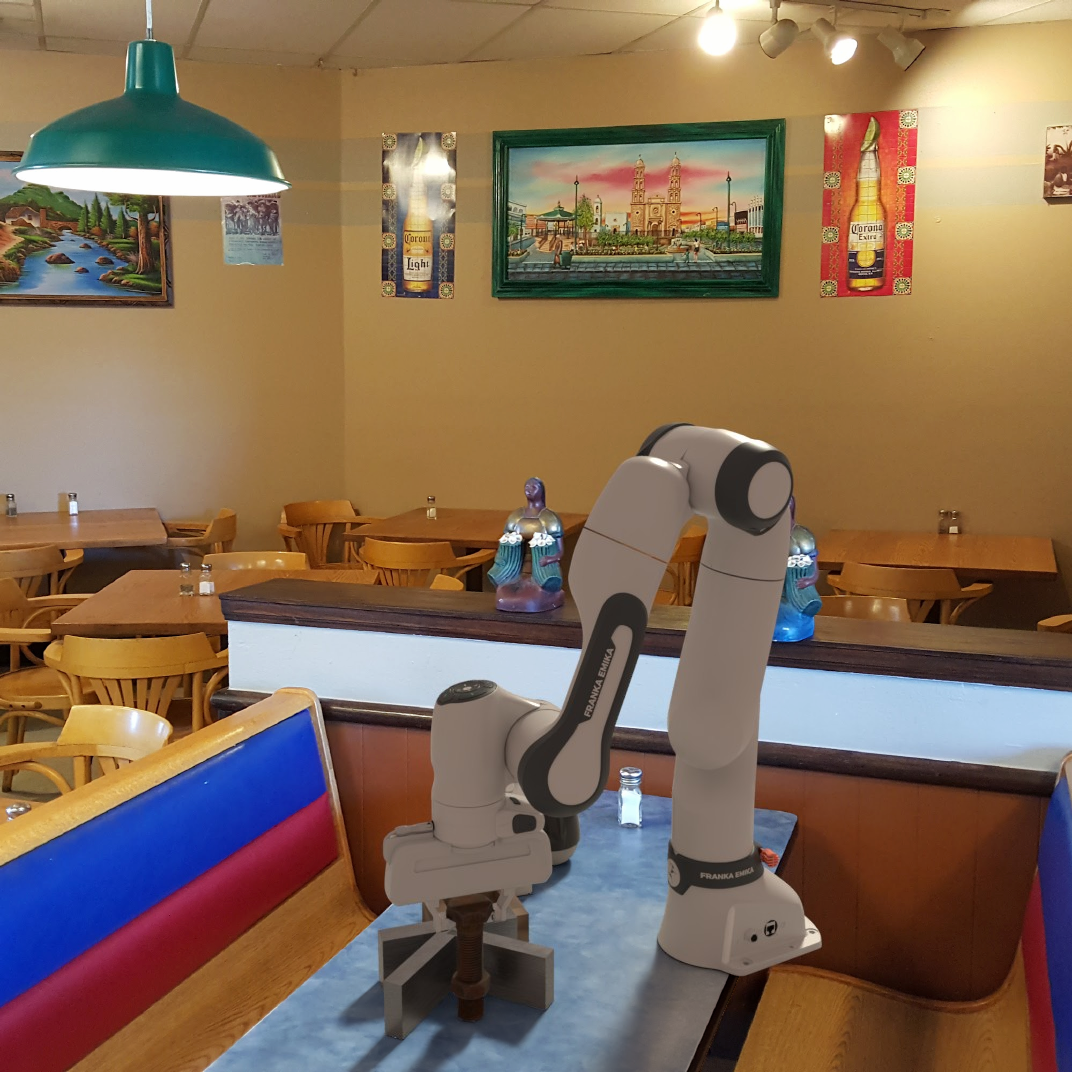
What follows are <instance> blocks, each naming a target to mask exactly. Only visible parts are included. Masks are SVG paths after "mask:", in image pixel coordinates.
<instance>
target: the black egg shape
mask: <svg viewBox="0 0 1072 1072" xmlns="http://www.w3.org/2000/svg"><path fill="white" fill-rule="evenodd" d="M543 816H544V818H545V824H544V828H543V831H544V832H545V833H546V834H547V836H548V838H549V841H550V847H551V855H552V865H553V866H558V865H562V864H564V863H566V862H567V861H568V860H570V859H571V858H572V857H573V855H574V854H575V852H576V850H577V848H578V844H579V843H580V840H581V825H580V817H579V814H576V815H573V816H569V817H551V816H547V815H544V814H543Z"/></svg>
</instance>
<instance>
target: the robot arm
mask: <svg viewBox="0 0 1072 1072" xmlns="http://www.w3.org/2000/svg"><path fill="white" fill-rule="evenodd" d="M794 485H795V484H794V474H793V469H792V466H791V462H790V461H789V457H787V456H786V454H784V453H783V451H781V450H779V449H778V448H776V447H775V446H773V445H772V444H769V443H768V442H765V441H763V440H760V439H753V438H751V437H748V436H746V435H743V434H741V433H738V432H735V431H731V430H728V429H725V428H713V427H706V426H697V425H695V424H693V423H689V422H671V423H666V424H663V425H661V426H658V427H657V428H656V429H654V430H653V431H652V432H651V433H650V434H649V435H648V436H647V437H646V438H645V440H644V441H643V443H642V444H641V445H640V447H639V449H638V452H637V453H636V455H635V456H632V457H629V458H628V459H625V460H624V461H623V462H622V463H620V465H618V467H617V469H616V470H615V471H614V472H613V474H612V476H611V477H610V478H609V480H608V481H607V483H606V485H605V486H604V487H603V489H602V491H601V493H600V494H599V496H598V498H597V500H596V502H595V503H594V505H593V507H592V509H591V511H590V513H589V514H588V517H587V520H586V521H585V524H584V525H583V526H584V527H583V528H582V530H581V533H580V535H579V536H578V537H579V538H578V539H577V542H576V545H575V547H574V550H573V553H572V558H571V561H570V566H569V571H568V575H567V576H568V577H567V578H568V579H567V580H568V586H569V590H570V592H571V596H572V599H573V600H574V603H575V605H576V607H577V611H578V614H579V619H580V623H581V629H582V646H581V651H580V655H579V659H578V661H577V664H576V667H575V670H574V673H573V675H572V678H571V681H570V684H569V687H568V690H567V691H566V692H567V693H566V696H565V698H564V701H563V703H562V705H561V708H559V706H557V705H555V704H554V703H552V702H550V701H547V700H544V699H534V698H529V697H528V698H527V697H524V696H520V695H517V694H515V693H513V692H511V691H508V690H506V689H504V688H503V687H501V686H500V685H499V684H497V683H496V682H494V681H492V680H488V679H470V680H464V681H461V682H460V681H459V682H457V683H454V684H453V685H450V686H449V687H448V688H446V689H444V690H443V691H442V692H440V694H439V695H438V697H437V698H436V700H435V703H434V706H433V711H432V717H431V718H432V719H431V726H430V727H431V729H430V761H431V762H430V763H431V766H432V768H433V775H434V776H433V784H432V786H431V792H430V794H431V796H430V799H431V821H426V822H418V823H415V824H411V825H406V824H405V825H399V826H396V827H395V828H394V830H392V831H390V832H389V833H387V834H386V836H385V837H384V838H383V843H382V856H383V859H384V861H385V862H386V864H385V870H384V871H385V873H384V891H385V894H386V897H387V898H388V900H389V901H390V902H391V903H392V904H393V905H394V906H396V907H404V906H409V905H415V904H422V902H424V903H425V904H426V906H427V908H428V910H429V911H430V913H431V914H432V916H433V925H434V929H435V931H436V933H440V932H445V931H448V930H449V927H448V924H449V918H448V917H447V916H446V913H445V912H440V913H438V911H437V910H436V908H437V907H439V900H441V899H447V898H453V897H459V896H465V895H471V894H477V893H483V892H489V891H495V890H501V894H500V896H499V898H498V900H497V903H493V912H492V913H491V919H492V920H493V922H494V923H496V922H502V921H506V908H507V907H508V906H509V904H510V902H511V900H512V899H513V897H514V895H515V887H519V886H525V885H531V884H532V885H537V884H543V883H546V882H547V881H548V879H550V877H551V876H552V873H553V866H552V855H551V847H550V841H549V838H548V836H547V834H546V833H545V832H544V831H543V828H544V824H545V818H544V816H543V814H544V815H547V816H551V817H569V816H573V815H576V814H578V815H579V814H581V813H583V812H585V811H586V810H588V809H589V808H590V807H591V806H593V805H594V804H595V803H596V802H597V801H598V800H599V798H600V797H601V796H602V795H603V793H604V791H605V789H606V787H607V784H608V781H609V777H610V770H611V769H610V767H611V766H610V765H611V745H612V739H613V735H614V732H615V728H616V725H617V721H618V719H619V716H620V713H621V710H622V707H623V705H624V703H625V702H624V701H625V698H626V695H627V692H628V690H629V687H630V684H631V681H632V678H633V676H634V673H635V670H636V666H637V664H638V661H639V658H640V654H641V651H642V648H643V644H644V641H645V638H646V637H645V636H646V632H647V628H648V624H649V623H648V622H649V618H650V614H651V611H652V607H653V604H654V601H655V599H656V596H657V592H658V590H659V588H660V585H661V583H662V581H663V577H664V576H665V573H666V570H667V569H668V568H667V567H668V566H669V564H670V561H671V559H672V557H673V556H672V555H673V554H674V551H675V548H676V545H677V542H678V541H679V538H680V534H681V530H682V529H683V527H684V526H685V524H687V523H688V521H689V520H691V519H692V518H693V517H694V516H696V517H700V518H706V521H707V527H708V529H707V533H706V535H705V540H704V544H703V548H702V552H701V558H700V563H699V568H698V571H697V578H696V584H695V589H694V592H693V593H694V594H693V600H692V605H691V611H690V614H689V615H690V616H689V619H688V624H687V628H686V632H685V636H684V640H683V644H682V648H681V652H680V656H679V657H680V658H679V662H678V666H677V670H676V674H675V677H674V678H675V679H674V681H673V682H674V683H673V687H672V688H673V689H672V690H671V691H672V692H671V695H670V696H671V697H670V701H669V705H668V711H667V717H666V719H667V720H666V724H667V725H666V726H667V727H666V728H667V735H668V739H669V744H670V746H671V748H672V750H673V752H674V753H675V761H674V762H675V763H674V771H673V780H672V785H671V787H672V788H671V790H672V791H671V832H670V833H671V835H670V837H671V838H670V839H669V841H668V843H667V844H668V845H667V846H668V847H667V862H666V872H667V874H666V875H667V884H668V888H667V889H668V890H667V896H666V902H665V909H664V912H663V917H662V921H661V924H660V927H659V929H658V930H659V931H658V933H657V942H658V944H659V946H660V947H661V949H662V950H663V951H664V952H666V954H667V955H669V956H670V957H672V958H674V959H676V960H678V961H681V962H683V963H686V964H688V965H692V966H696V967H701V968H707V969H712V970H713V969H715V970H718V971H722V972H725V973H728V974H731V975H733V976H738V977H744V976H747V975H750V974H753V973H756V972H758V971H762V970H764V969H768V968H770V967H772V966H776V965H778V964H781V963H784V962H786V961H789V960H791V959H794V958H798V957H800V956H803V955H806V954H808V953H810V952H814V951H816V950H819V949H821V948H822V936H821V933H820V931H819V929H818V928H817V927H816V925H815V924H814V923H813V922H812V921H811V920H810V919H809V918H808V917H807V916H806V915H805V911H804V907H803V903H802V901H801V899H800V896H799V895H798V893H797V892H796V891H795V890H794V889H793V888H792V886H791V885H789V884H788V883H786V881H784V880H783V879H781V877H779V876H778V875H777V874H775V873H773V871H771V870H769V869H768V868H771V869H773V868H775V867H777V866H778V864H779V863H780V856H779V855H778V854H777V853H776V852H774V851H773V850H771V849H770V848H765V849H764V848H763V846H762V844H760V843H759V842H757V841H756V840H754V827H755V826H754V823H755V822H754V821H755V820H754V819H755V795H756V793H755V792H756V778H757V766H758V765H757V764H758V745H759V731H760V714H761V713H760V712H761V694H762V688H763V684H764V680H765V679H764V678H765V674H766V671H767V666H768V661H769V656H770V653H771V647H772V644H773V643H772V642H773V638H774V633H775V628H776V624H777V619H778V614H779V609H780V605H781V604H780V603H781V600H782V599H781V598H782V594H783V589H784V586H785V585H784V584H785V580H786V575H787V568H788V561H789V555H790V546H791V545H790V544H791V529H792V526H791V525H792V524H791V523H792V522H791V519H792V517H791V516H792V515H791V509H790V506H789V505H790V503H791V501H792V497H793V493H794ZM598 533H599V534H598ZM600 534H601V535H600ZM607 537H608V538H607ZM653 557H654V558H653ZM512 783H519V785H520V787H521V789H522V791H523V793H524V795H525V796H522V795H517V794H511V793H506V787H507V786H508V785H509V784H512ZM763 863H764V864H765V865H766V866H767V867H768V868H766V867H765V866H764V864H763Z"/></svg>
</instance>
